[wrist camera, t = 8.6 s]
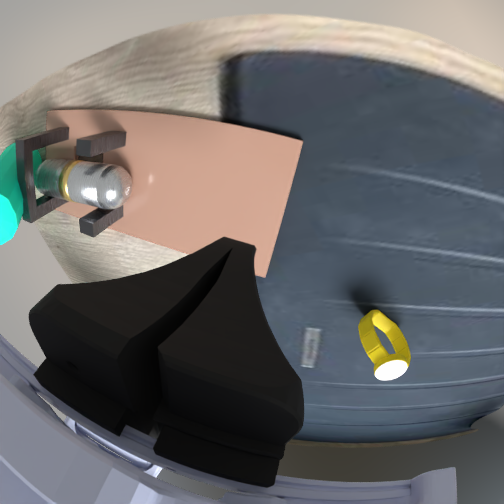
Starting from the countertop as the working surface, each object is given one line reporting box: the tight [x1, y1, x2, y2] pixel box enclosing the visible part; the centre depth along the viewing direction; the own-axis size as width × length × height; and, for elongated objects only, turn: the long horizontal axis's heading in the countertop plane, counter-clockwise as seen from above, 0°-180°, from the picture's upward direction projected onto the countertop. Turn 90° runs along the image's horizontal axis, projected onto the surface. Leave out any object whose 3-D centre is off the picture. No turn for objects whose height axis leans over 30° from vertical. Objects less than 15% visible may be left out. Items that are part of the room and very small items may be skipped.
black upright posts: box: [15, 127, 127, 237], centre depth 18 cm, size 9×8×6 cm
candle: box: [0, 143, 42, 245], centre depth 17 cm, size 6×6×12 cm
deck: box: [46, 109, 303, 277], centre depth 20 cm, size 25×11×1 cm, turn 78°
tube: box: [34, 159, 132, 210], centre depth 19 cm, size 12×4×4 cm, turn 80°
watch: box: [358, 310, 411, 380], centre depth 20 cm, size 6×3×6 cm, turn 56°
